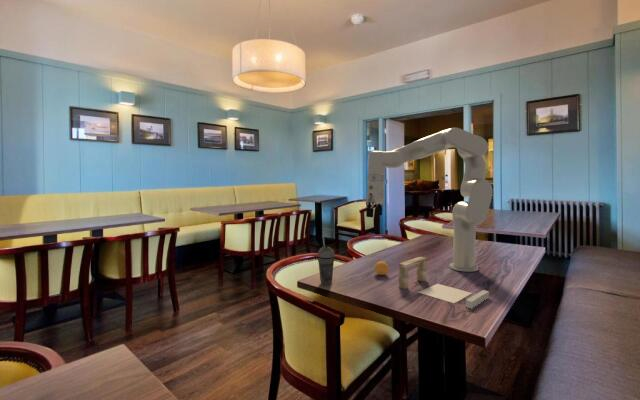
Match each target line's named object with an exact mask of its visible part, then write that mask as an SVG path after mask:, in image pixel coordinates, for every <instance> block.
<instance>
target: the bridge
mask: <svg viewBox="0 0 640 400" xmlns="http://www.w3.org/2000/svg"><path fill="white" fill-rule="evenodd" d="M415 265H416V266H417V267H416V270H417V271H416V279H417V281H420V282H426V281H427V257H424V256H417V257H415V258H412V259H408V260H405V261H402V262H399V264H398V288H400V289H404V290H407V289H408V288H409V267H412V266H415Z"/></svg>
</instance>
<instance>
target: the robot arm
mask: <svg viewBox="0 0 640 400" xmlns="http://www.w3.org/2000/svg"><path fill="white" fill-rule="evenodd" d="M451 148H454V149H457V153H458V155H459V156H460V158H462V160H463V162H464V165H465V166H464V173H463V178H462V182H461V185H460V190H459V191H460V195H461V196H462V197H464V198H466V199H468V201H466V200H461V201H458V202H457V203H455V205H454V206H453V208H452V215H451V216H452V222H453V236H452V237H453V239H452V240H453V241H452V243H453V245H452V262H450V263H449V264H448V267H449V268H450V269H451V270H454V271H458V272H466V273H471V272H477V271H478V270H479V266H478V265H476V261H478V258H477V257H476V243H477V242H476V236H477V229H476V228H477V227H476V226H477V225H481V224H483V222H484V221H486V218H487V216H488V213H489V210H490V206H491V202H492V198H493V191H494V190H493V186H492V184H491V183H490V181H489V180H487V179H485V173H486V168H487V167H486V161H485V158H484V157H483V156H485V155H486V154H487V153H488V150H489V143H488V142H487V140H486V139H485V138H483V137H481V136H480V135H476V134H474V133H472V132H470V131H467V130H464V129H462V128H460V127H451V128H447V129H443V130H440V131H438V132H436V133H433V134H431V135H427V136H425V137H422V138H420V139H418V140H415V141H413V142H411V143H409V144H406V145H404V146H401V147H399V148H396V149H393V150H389V151H382V150H372V151H369V153H368V162H367V163H368V167H367V182H368V183H367V189H366V191H367V192H366V197H365V205H366V206H365V207H366V208H365V209H366V211H365V213H366V214H365V216H366V217H367V218H374V214H375V215H376V216H383V205H384V202H385V192H386V190H385V180H386V179H385V175H386V174H385V173H386V169H387V168H389V169H397V168H400V167H402V166H403V165H404V164H405V163H408V162H411V161H415V160H420V159H424V158H427V157H430V156H432V155H435V154H437V153H440V152H443V151H445V150H447V149H451ZM375 205H376V206H375ZM374 206H375V208H374ZM374 209H375V210H374ZM374 211H375V213H374Z"/></svg>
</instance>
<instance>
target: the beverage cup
mask: <svg viewBox="0 0 640 400" xmlns="http://www.w3.org/2000/svg"><path fill="white" fill-rule="evenodd" d="M322 244H323V246H322V247H321V248H319V250H318V251H317V262H318V271H319V278H320V279H319V280H320V285H321V286H326V287H328V286H332V285H333V284H332V283H333V275H334V274H333V273H334V264H335V263H334V262H335V258H336V256H335V251H334V249H333V248H332V247H330V246H327V245H326V244H325V236H324V235H322Z"/></svg>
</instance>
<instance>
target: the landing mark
mask: <svg viewBox="0 0 640 400" xmlns="http://www.w3.org/2000/svg"><path fill="white" fill-rule="evenodd" d="M418 294H422V295H425V296H428V297H431V298H435V299H438V300H441V301H444V302H448V303H450V304H456V303H458V302H459V301H461V300H463V299H465V298H467V297H469V296H471V295H472V294H473V293H472V292H469V291H466V290H462V289H459V288H456V287H452V286H451V287H450V286H447V285H443V284H441V283H436V284H433V285H432V286H429V287H427V288H425V289H422V290H421V291H418Z"/></svg>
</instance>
